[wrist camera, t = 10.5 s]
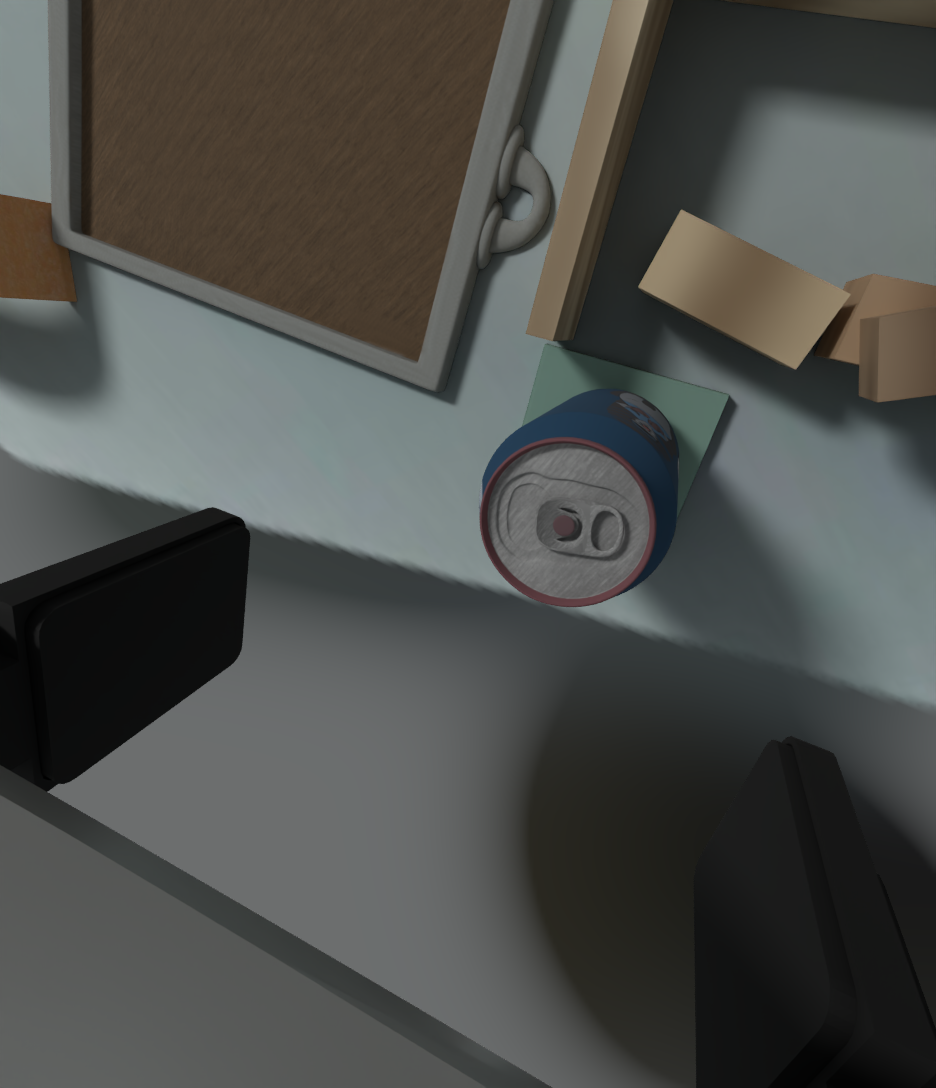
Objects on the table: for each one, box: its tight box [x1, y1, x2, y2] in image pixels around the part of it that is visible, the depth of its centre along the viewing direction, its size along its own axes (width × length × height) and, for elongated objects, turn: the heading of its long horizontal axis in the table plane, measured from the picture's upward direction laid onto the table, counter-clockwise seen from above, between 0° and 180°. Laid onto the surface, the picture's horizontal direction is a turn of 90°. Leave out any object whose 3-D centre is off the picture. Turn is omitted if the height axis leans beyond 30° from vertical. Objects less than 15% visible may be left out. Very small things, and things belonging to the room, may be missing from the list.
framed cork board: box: [48, 0, 554, 392], centre depth 30 cm, size 19×2×30 cm
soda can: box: [479, 389, 679, 607], centre depth 24 cm, size 7×7×12 cm
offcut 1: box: [638, 210, 851, 370], centre depth 24 cm, size 7×3×4 cm, turn 63°
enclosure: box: [526, 0, 936, 341], centre depth 21 cm, size 23×15×5 cm, turn 75°
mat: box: [522, 344, 729, 518], centre depth 29 cm, size 9×9×1 cm
